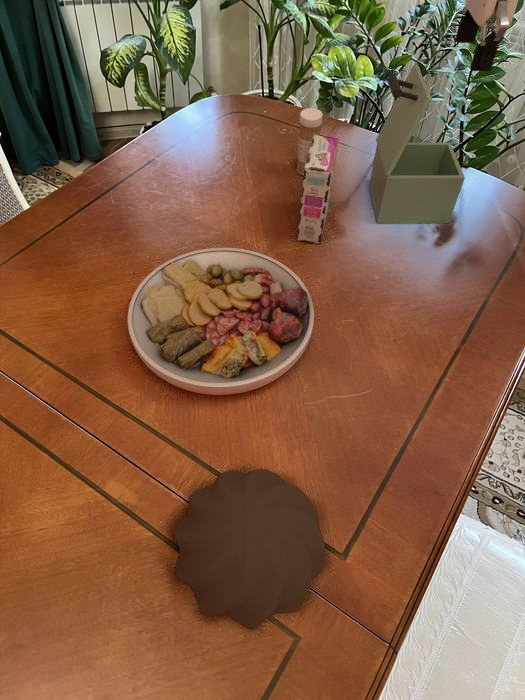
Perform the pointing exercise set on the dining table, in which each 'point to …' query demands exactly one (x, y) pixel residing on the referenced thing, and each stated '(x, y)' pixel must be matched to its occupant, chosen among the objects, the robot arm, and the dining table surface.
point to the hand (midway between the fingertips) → (471, 55)
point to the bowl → (220, 320)
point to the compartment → (417, 185)
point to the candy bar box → (317, 188)
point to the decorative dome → (249, 546)
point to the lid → (402, 116)
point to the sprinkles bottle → (307, 134)
